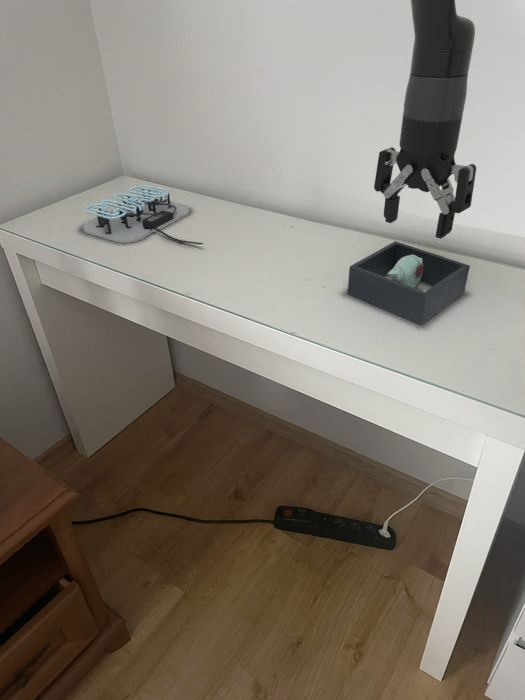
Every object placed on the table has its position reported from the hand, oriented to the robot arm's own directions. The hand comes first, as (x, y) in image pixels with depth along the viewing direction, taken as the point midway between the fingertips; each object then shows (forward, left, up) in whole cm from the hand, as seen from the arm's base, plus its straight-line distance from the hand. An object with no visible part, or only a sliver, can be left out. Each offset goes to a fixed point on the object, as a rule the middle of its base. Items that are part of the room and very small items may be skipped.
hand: (415, 228), depth 78 cm
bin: (0, 0, -11) cm, 11 cm away
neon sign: (+53, +10, -11) cm, 55 cm away
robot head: (0, 0, -11) cm, 11 cm away
